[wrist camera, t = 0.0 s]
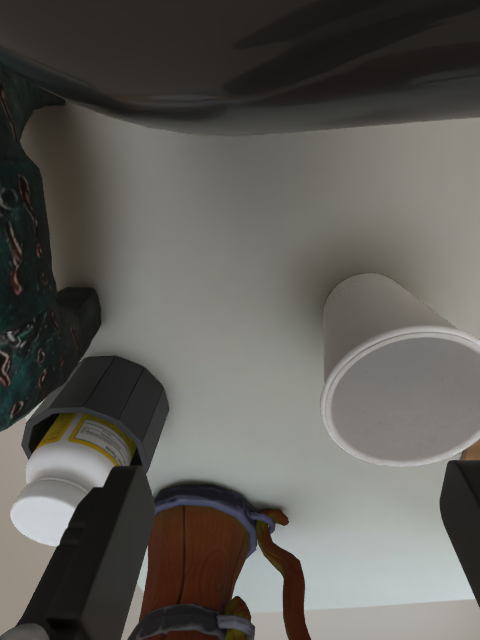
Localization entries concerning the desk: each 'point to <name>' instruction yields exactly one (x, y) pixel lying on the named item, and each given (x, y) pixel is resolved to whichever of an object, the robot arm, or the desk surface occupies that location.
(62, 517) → the pill bottle
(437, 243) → the desk surface
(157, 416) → the cup
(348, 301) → the dixie cup
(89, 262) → the desk surface
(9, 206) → the ceramic cat
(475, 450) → the cork coaster
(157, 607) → the mug
